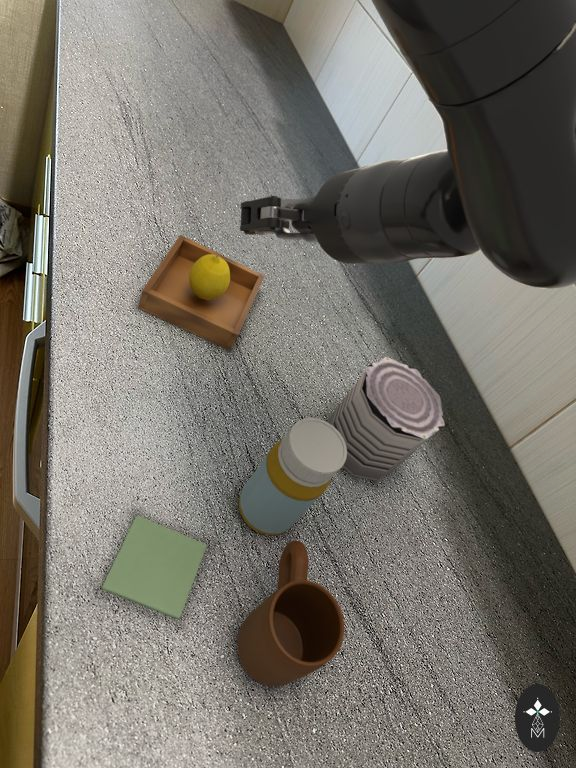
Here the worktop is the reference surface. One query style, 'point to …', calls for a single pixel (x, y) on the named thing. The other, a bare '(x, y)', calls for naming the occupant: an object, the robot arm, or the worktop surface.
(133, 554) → the mat
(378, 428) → the can
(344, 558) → the worktop surface
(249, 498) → the bottle
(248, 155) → the worktop surface
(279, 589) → the mug
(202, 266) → the fruit
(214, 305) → the crate
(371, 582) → the worktop surface
